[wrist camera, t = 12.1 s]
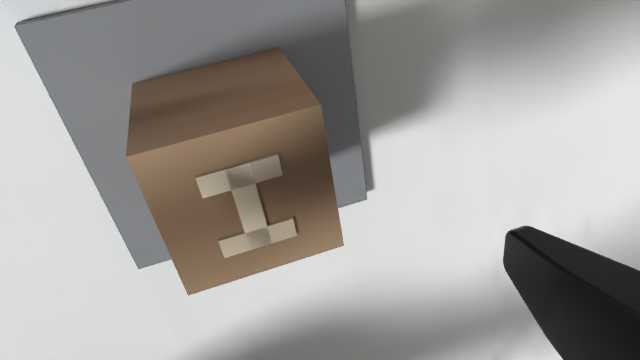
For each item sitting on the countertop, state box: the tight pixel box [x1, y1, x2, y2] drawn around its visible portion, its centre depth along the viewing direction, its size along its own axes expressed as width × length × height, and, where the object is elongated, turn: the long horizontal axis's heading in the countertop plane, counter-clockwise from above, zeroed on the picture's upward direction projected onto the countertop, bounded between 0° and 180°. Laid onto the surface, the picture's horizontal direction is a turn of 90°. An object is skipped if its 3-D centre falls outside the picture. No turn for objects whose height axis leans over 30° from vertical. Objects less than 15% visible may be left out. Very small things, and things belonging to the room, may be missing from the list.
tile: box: [14, 0, 367, 269], centre depth 16 cm, size 9×9×1 cm
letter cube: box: [126, 48, 344, 295], centre depth 14 cm, size 4×4×5 cm
